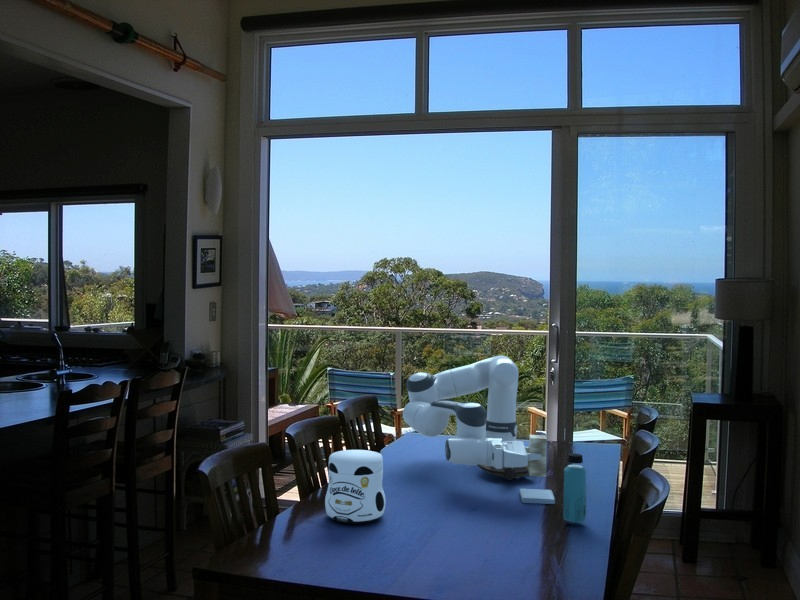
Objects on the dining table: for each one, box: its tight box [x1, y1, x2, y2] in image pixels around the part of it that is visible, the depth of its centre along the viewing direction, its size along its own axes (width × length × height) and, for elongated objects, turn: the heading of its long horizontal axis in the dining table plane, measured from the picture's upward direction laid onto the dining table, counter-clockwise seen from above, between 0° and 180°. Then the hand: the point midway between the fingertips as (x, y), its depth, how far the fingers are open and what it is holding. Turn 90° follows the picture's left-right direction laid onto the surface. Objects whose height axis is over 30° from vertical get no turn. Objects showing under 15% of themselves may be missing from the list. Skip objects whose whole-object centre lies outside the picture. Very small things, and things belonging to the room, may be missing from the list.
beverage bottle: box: [562, 452, 588, 524], centre depth 204 cm, size 6×7×20 cm
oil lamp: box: [476, 461, 529, 481], centre depth 253 cm, size 22×30×8 cm
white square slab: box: [519, 488, 556, 505], centre depth 228 cm, size 10×10×2 cm
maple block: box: [528, 434, 548, 478], centre depth 227 cm, size 5×5×12 cm
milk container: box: [324, 449, 387, 525], centre depth 206 cm, size 17×17×18 cm
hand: (540, 454), depth 227 cm, fingers closed on maple block, 5 cm apart
